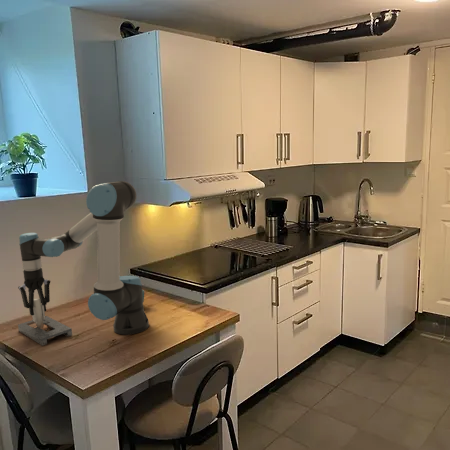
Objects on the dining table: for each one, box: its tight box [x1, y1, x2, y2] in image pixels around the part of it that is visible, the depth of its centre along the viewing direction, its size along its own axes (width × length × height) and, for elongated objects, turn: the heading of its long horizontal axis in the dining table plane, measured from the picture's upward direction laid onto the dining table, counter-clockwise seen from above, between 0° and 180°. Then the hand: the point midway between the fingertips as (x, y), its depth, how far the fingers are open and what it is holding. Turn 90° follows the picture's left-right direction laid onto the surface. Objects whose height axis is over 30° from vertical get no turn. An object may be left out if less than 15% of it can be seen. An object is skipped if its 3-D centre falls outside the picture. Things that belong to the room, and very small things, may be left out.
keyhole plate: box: [17, 315, 73, 347], centre depth 194 cm, size 24×13×3 cm, turn 46°
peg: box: [33, 298, 49, 332], centre depth 196 cm, size 6×6×14 cm
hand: (39, 320), depth 197 cm, fingers closed on peg, 3 cm apart
